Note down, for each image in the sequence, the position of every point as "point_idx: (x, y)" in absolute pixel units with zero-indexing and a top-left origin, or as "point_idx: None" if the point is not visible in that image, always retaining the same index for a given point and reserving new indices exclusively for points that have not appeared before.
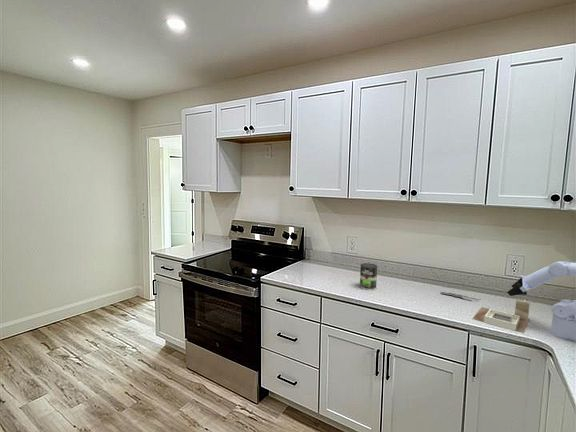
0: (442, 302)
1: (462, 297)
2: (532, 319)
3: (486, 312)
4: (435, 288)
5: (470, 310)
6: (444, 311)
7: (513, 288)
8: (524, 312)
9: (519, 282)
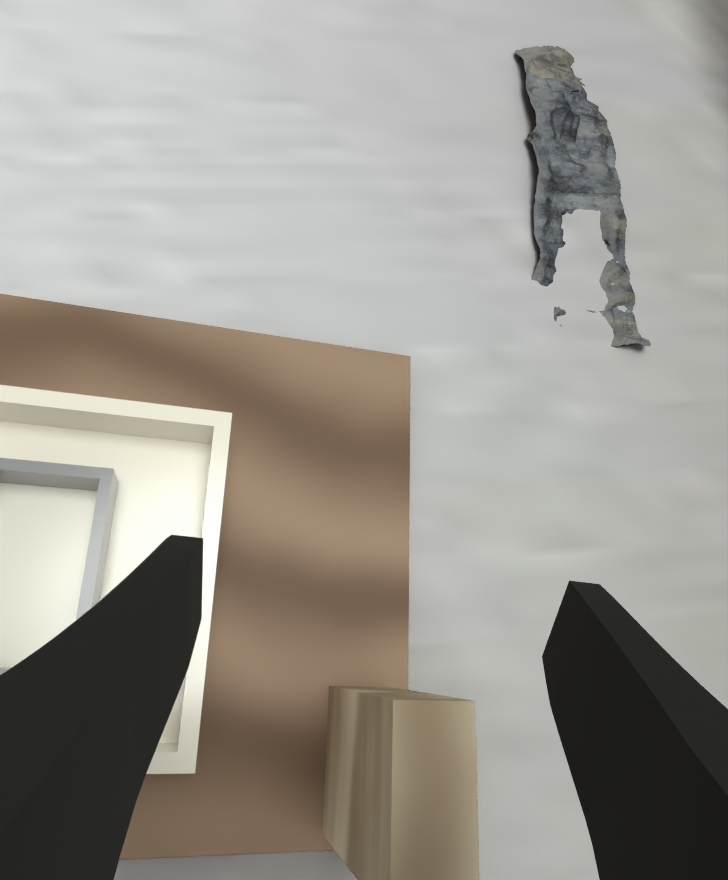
0: (303, 58)
1: (570, 205)
2: None
3: (269, 406)
4: (619, 21)
5: (262, 274)
6: (48, 66)
7: (2, 680)
8: (349, 813)
9: (663, 788)
